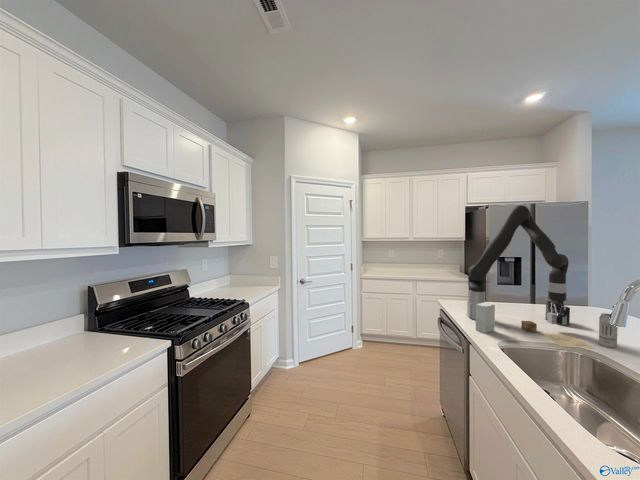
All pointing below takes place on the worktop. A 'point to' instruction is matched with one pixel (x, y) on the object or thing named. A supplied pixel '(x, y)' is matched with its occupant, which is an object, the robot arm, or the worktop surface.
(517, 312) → the worktop surface
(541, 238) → the robot arm
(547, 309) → the small box
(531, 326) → the walnut cube
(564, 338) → the letter
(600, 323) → the energy drink can
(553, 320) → the grey block
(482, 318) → the skincare box
